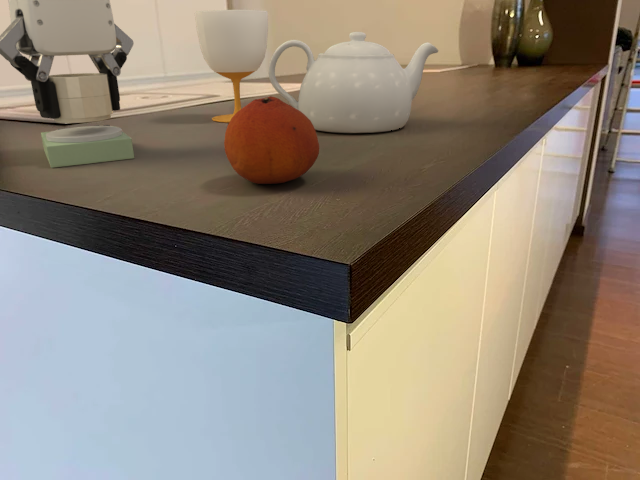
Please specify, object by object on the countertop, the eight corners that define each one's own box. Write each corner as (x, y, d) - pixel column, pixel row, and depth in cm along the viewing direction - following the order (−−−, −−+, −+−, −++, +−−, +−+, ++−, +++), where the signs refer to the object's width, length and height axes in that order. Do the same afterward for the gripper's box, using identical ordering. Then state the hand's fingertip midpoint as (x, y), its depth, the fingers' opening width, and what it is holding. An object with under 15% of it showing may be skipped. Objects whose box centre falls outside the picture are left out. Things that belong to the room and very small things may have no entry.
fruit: (245, 199, 47) (238, 105, 44) (218, 177, 54) (211, 95, 51) (335, 186, 50) (335, 98, 47) (298, 167, 58) (296, 90, 55)
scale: (44, 151, 68) (39, 127, 67) (117, 143, 73) (114, 121, 71) (50, 168, 59) (45, 141, 58) (134, 158, 64) (130, 132, 62)
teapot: (347, 114, 95) (347, 32, 91) (436, 124, 83) (442, 30, 79) (267, 127, 83) (262, 33, 78) (358, 141, 71) (359, 31, 66)
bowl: (39, 123, 61) (29, 77, 59) (71, 115, 67) (63, 73, 65) (96, 123, 60) (88, 76, 58) (123, 115, 66) (117, 72, 65)
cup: (286, 117, 93) (282, 10, 87) (234, 126, 85) (226, 9, 79) (242, 112, 100) (235, 13, 94) (190, 120, 92) (179, 12, 86)
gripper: (104, -45, 66) (125, 104, 72) (-54, -63, 53) (-11, 121, 59) (143, -52, 62) (162, 107, 68) (-18, -73, 48) (24, 126, 55)
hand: (81, 112), depth 63 cm, fingers closed on bowl, 7 cm apart
